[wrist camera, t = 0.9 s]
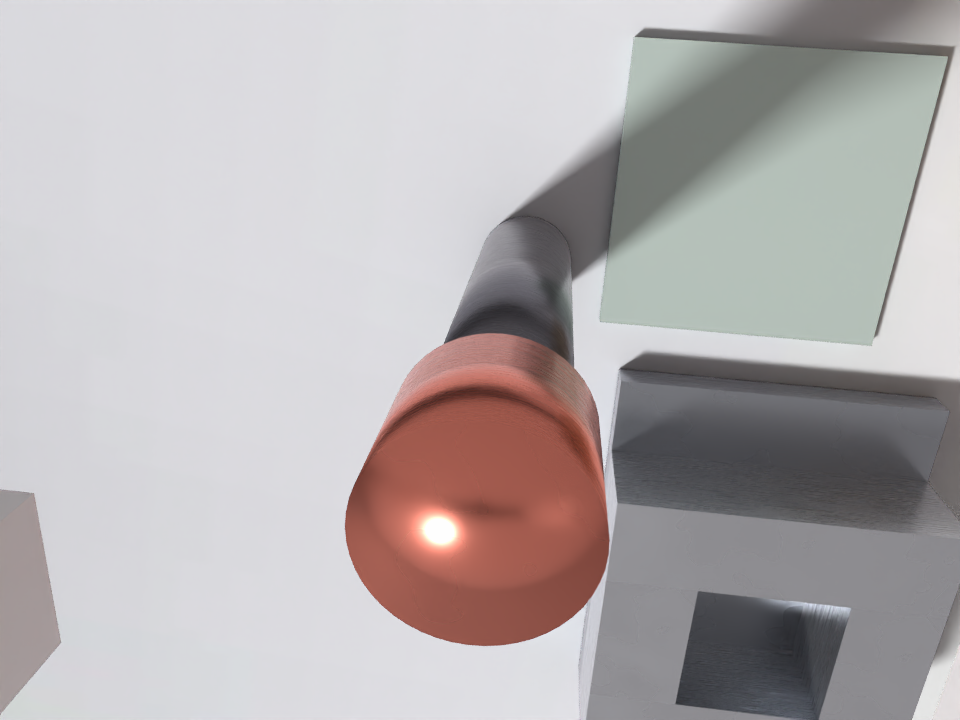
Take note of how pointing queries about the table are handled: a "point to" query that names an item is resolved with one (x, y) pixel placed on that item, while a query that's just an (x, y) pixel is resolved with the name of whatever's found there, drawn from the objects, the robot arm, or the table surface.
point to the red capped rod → (489, 462)
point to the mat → (764, 187)
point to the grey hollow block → (768, 554)
